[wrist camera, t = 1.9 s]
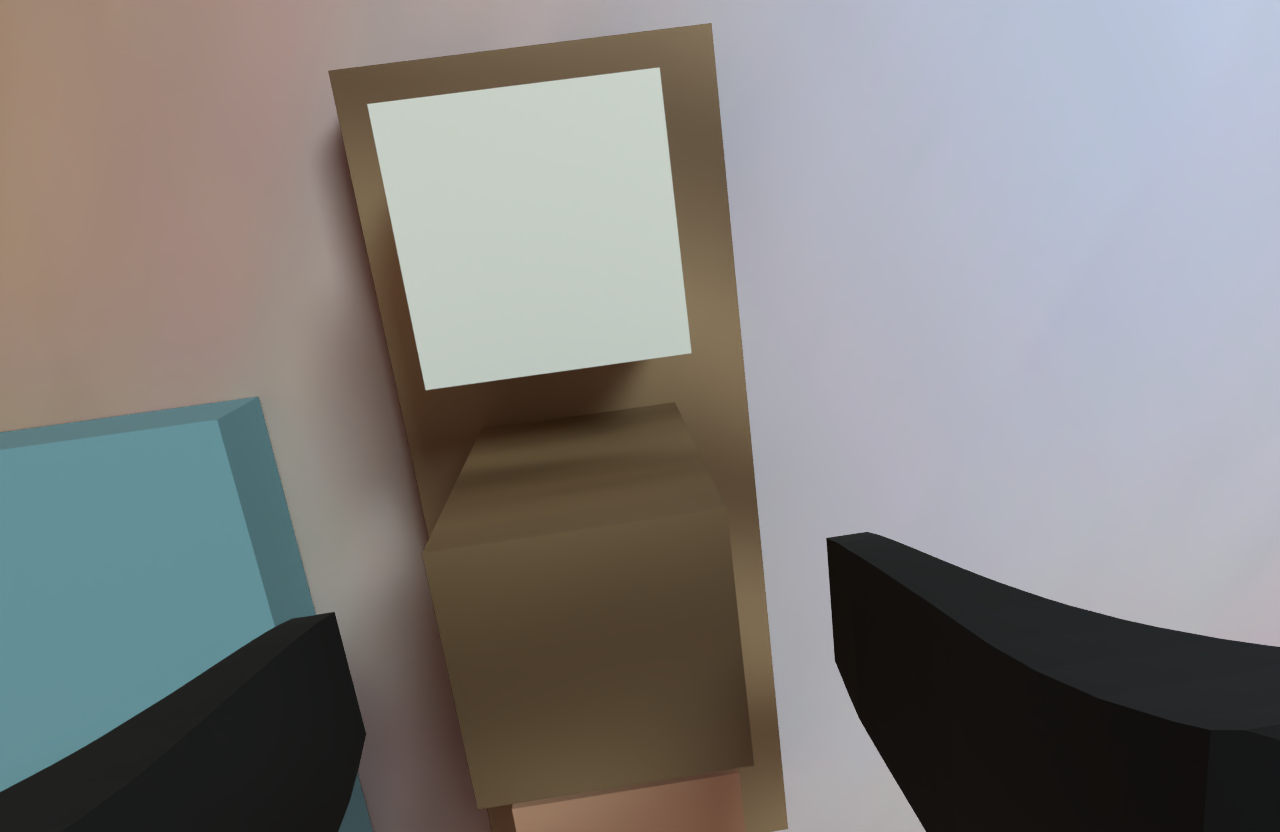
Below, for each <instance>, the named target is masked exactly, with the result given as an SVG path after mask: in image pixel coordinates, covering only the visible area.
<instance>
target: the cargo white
mask: <svg viewBox="0 0 1280 832" xmlns="http://www.w3.org/2000/svg"><path fill="white" fill-rule="evenodd" d="M367 106H368V111H369V116H370V121H371V126H372V130H373V135H374V140H375V145H376V150H377V155H378V160H379V165H380V170H381V175H382V179H383V184H384V189H385V194H386V199H387V204H388V209H389V214H390V219H391V223H392V228H393V233H394V238H395V243H396V248H397V253H398V258H399V263H400V267H401V272H402V277H403V282H404V287H405V292H406V297H407V302H408V307H409V311H410V316H411V321H412V326H413V331H414V336H415V341H416V346H417V351H418V355H419V360H420V365H421V370H422V375H423V380H424V385H425V390H431V389H438V388H445V387H452V386H459V385H467V384H474V383H481V382H488V381H495V380H503V379H510V378H517V377H524V376H531V375H538V374H546V373H553V372H560V371H567V370H574V369H582V368H589V367H596V366H603V365H610V364H618V363H625V362H632V361H639V360H646V359H653V358H661V357H668V356H675V355H682V354H689V353H692V352H691V343H690V334H689V325H688V316H687V308H686V299H685V290H684V281H683V272H682V263H681V254H680V245H679V236H678V227H677V218H676V209H675V200H674V191H673V182H672V173H671V164H670V155H669V146H668V137H667V129H666V120H665V111H664V102H663V93H662V84H661V75H660V67H659V68H651V69H643V70H635V71H627V72H619V73H611V74H603V75H595V76H587V77H579V78H571V79H563V80H555V81H547V82H539V83H531V84H523V85H515V86H507V87H499V88H491V89H483V90H475V91H467V92H459V93H451V94H443V95H436V96H428V97H420V98H412V99H404V100H396V101H388V102H380V103H372V104H367Z"/></svg>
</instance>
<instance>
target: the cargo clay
mask: <svg viewBox="0 0 1280 832" xmlns="http://www.w3.org/2000/svg"><path fill="white" fill-rule="evenodd" d="M512 812H513V817H514V822H515V827H516V832H746V830H745V821H744V812H743V803H742V794H741V786H740V777H739V771H738V768H735V769H729V770H723V771H716V772H710V773H704V774H698V775H691V776H685V777H679V778H673V779H666V780H660V781H654V782H648V783H641V784H635V785H629V786H623V787H616V788H610V789H604V790H597V791H591V792H585V793H579V794H572V795H566V796H560V797H554V798H547V799H541V800H535V801H529V802H522V803H516V804H512Z"/></svg>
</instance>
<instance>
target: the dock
mask: <svg viewBox="0 0 1280 832" xmlns="http://www.w3.org/2000/svg"><path fill="white" fill-rule="evenodd" d="M312 615H316V614H315V610H314V606H313V602H312V598H311V595H310V591H309V587H308V583H307V579H306V576H305V572H304V568H303V564H302V560H301V557H300V553H299V549H298V545H297V541H296V538H295V534H294V530H293V526H292V522H291V519H290V515H289V511H288V507H287V503H286V500H285V496H284V492H283V488H282V484H281V481H280V477H279V473H278V469H277V465H276V462H275V458H274V454H273V450H272V446H271V443H270V439H269V435H268V431H267V427H266V424H265V420H264V416H263V412H262V408H261V405H260V401H259V397H253V398H245V399H238V400H231V401H224V402H217V403H209V404H202V405H195V406H188V407H181V408H173V409H166V410H159V411H152V412H145V413H137V414H130V415H123V416H116V417H109V418H102V419H94V420H87V421H80V422H73V423H66V424H58V425H51V426H44V427H37V428H30V429H22V430H15V431H8V432H1V433H0V792H1V791H3V790H5V789H7V788H9V787H11V786H13V785H15V784H16V783H18V782H20V781H22V780H24V779H26V778H28V777H30V776H32V775H34V774H35V773H37V772H39V771H41V770H43V769H45V768H47V767H49V766H51V765H53V764H54V763H56V762H58V761H60V760H61V759H63V758H65V757H67V756H69V755H70V754H72V753H74V752H76V751H78V750H79V749H81V748H83V747H84V746H86V745H88V744H90V743H91V742H93V741H95V740H97V739H98V738H100V737H101V736H103V735H105V734H106V733H108V732H110V731H111V730H113V729H114V728H116V727H118V726H119V725H121V724H123V723H124V722H126V721H127V720H129V719H131V718H132V717H134V716H135V715H137V714H139V713H140V712H142V711H144V710H145V709H147V708H148V707H150V706H152V705H153V704H155V703H157V702H158V701H160V700H161V699H163V698H165V697H166V696H168V695H169V694H171V693H173V692H174V691H176V690H177V689H179V688H180V687H182V686H183V685H185V684H186V683H188V682H189V681H191V680H192V679H194V678H195V677H197V676H198V675H200V674H202V673H203V672H205V671H206V670H208V669H209V668H211V667H212V666H214V665H215V664H217V663H218V662H220V661H221V660H223V659H224V658H226V657H227V656H229V655H230V654H232V653H234V652H235V651H237V650H238V649H240V648H241V647H243V646H244V645H246V644H247V643H249V642H251V641H252V640H254V639H255V638H257V637H259V636H260V635H262V634H264V633H265V632H267V631H269V630H270V629H272V628H274V627H276V626H278V625H279V624H281V623H284V622H286V621H288V620H290V619H292V618H299V617H306V616H312ZM338 832H373V830H372V826H371V823H370V819H369V815H368V811H367V807H366V804H365V800H364V796H363V792H362V788H361V785H360V781H359V777H358V773H357V776H356V780H355V784H354V788H353V791H352V795H351V799H350V802H349V805H348V807H347V810H346V813H345V815H344V818H343V821H342V823H341V826H340V828H339V831H338Z"/></svg>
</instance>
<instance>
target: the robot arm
mask: <svg viewBox="0 0 1280 832" xmlns="http://www.w3.org/2000/svg"><path fill="white" fill-rule="evenodd" d="M827 552H828V567H829V581H830V595H831V610H832V624H833V638H834V653H835V662H836V664H837V667H838V669H839V672H840V674H841V676H842V679H843V681H844V684H845V686H846V689H847V691H848V694H849V696H850V698H851V700H852V703H853V705H854V707H855V710H856V712H857V714H858V717H859V719H860V720H861V722H862V724H863V726H864V727H865V729H866V731H867V733H868V734H869V736H870V738H871V740H872V741H873V743H874V745H875V746H876V748H877V750H878V752H879V753H880V755H881V757H882V758H883V760H884V762H885V763H886V765H887V767H888V769H889V770H890V772H891V774H892V775H893V777H894V779H895V780H896V782H897V784H898V785H899V787H900V789H901V790H902V792H903V794H904V795H905V797H906V799H907V800H908V802H909V804H910V805H911V807H912V809H913V810H914V812H915V814H916V815H917V817H918V819H919V820H920V822H921V824H922V825H923V827H924V829H925V831H926V832H1280V647H1275V646H1267V645H1260V644H1253V643H1246V642H1239V641H1232V640H1225V639H1219V638H1213V637H1208V636H1202V635H1197V634H1192V633H1186V632H1181V631H1175V630H1170V629H1165V628H1159V627H1154V626H1150V625H1145V624H1140V623H1136V622H1131V621H1127V620H1123V619H1119V618H1115V617H1111V616H1107V615H1103V614H1100V613H1096V612H1092V611H1088V610H1084V609H1080V608H1077V607H1073V606H1069V605H1066V604H1062V603H1059V602H1056V601H1052V600H1049V599H1046V598H1043V597H1040V596H1037V595H1034V594H1031V593H1028V592H1025V591H1022V590H1019V589H1016V588H1013V587H1011V586H1008V585H1005V584H1002V583H999V582H996V581H994V580H991V579H988V578H986V577H983V576H980V575H978V574H975V573H973V572H970V571H968V570H965V569H962V568H960V567H958V566H955V565H953V564H950V563H948V562H945V561H943V560H940V559H938V558H935V557H933V556H931V555H928V554H926V553H923V552H921V551H919V550H916V549H914V548H911V547H909V546H906V545H904V544H901V543H899V542H896V541H894V540H891V539H889V538H886V537H883V536H880V535H877V534H873V533H869V532H864V533H857V534H851V535H844V536H837V537H831V538H827ZM365 736H366V732H365V728H364V725H363V721H362V717H361V713H360V709H359V705H358V701H357V697H356V694H355V690H354V686H353V682H352V678H351V674H350V670H349V666H348V663H347V659H346V655H345V651H344V647H343V643H342V639H341V635H340V632H339V628H338V624H337V620H336V616H335V612H332V613H326V614H319V615H312V616H306V617H299V618H292V619H290V620H288V621H286V622H284V623H281V624H279V625H278V626H276V627H274V628H272V629H270V630H269V631H267V632H265V633H264V634H262V635H260V636H259V637H257V638H255V639H254V640H252V641H251V642H249V643H247V644H246V645H244V646H243V647H241V648H240V649H238V650H237V651H235V652H234V653H232V654H230V655H229V656H227V657H226V658H224V659H223V660H221V661H220V662H218V663H217V664H215V665H214V666H212V667H211V668H209V669H208V670H206V671H205V672H203V673H202V674H200V675H198V676H197V677H195V678H194V679H192V680H191V681H189V682H188V683H186V684H185V685H183V686H182V687H180V688H179V689H177V690H176V691H174V692H173V693H171V694H169V695H168V696H166V697H165V698H163V699H161V700H160V701H158V702H157V703H155V704H153V705H152V706H150V707H148V708H147V709H145V710H144V711H142V712H140V713H139V714H137V715H135V716H134V717H132V718H131V719H129V720H127V721H126V722H124V723H123V724H121V725H119V726H118V727H116V728H114V729H113V730H111V731H110V732H108V733H106V734H105V735H103V736H101V737H100V738H98V739H97V740H95V741H93V742H91V743H90V744H88V745H86V746H84V747H83V748H81V749H79V750H78V751H76V752H74V753H72V754H70V755H69V756H67V757H65V758H63V759H61V760H60V761H58V762H56V763H54V764H53V765H51V766H49V767H47V768H45V769H43V770H41V771H39V772H37V773H35V774H34V775H32V776H30V777H28V778H26V779H24V780H22V781H20V782H18V783H16V784H15V785H13V786H11V787H9V788H7V789H5V790H3V791H1V792H0V832H338V831H339V828H340V826H341V823H342V821H343V818H344V815H345V813H346V810H347V807H348V805H349V802H350V799H351V795H352V791H353V788H354V784H355V780H356V776H357V772H358V768H359V763H360V759H361V754H362V750H363V745H364V741H365Z"/></svg>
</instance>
